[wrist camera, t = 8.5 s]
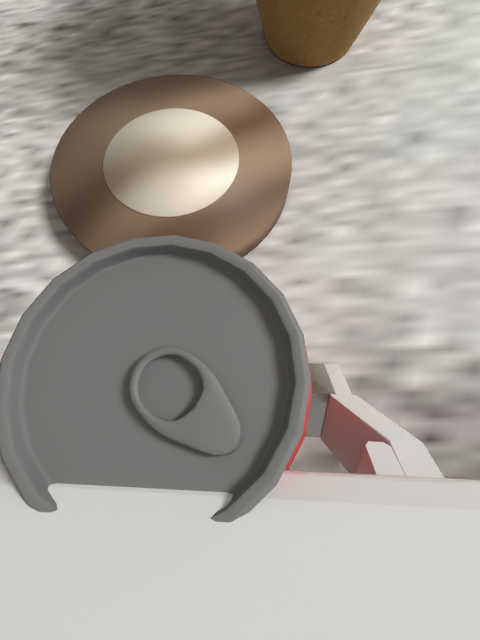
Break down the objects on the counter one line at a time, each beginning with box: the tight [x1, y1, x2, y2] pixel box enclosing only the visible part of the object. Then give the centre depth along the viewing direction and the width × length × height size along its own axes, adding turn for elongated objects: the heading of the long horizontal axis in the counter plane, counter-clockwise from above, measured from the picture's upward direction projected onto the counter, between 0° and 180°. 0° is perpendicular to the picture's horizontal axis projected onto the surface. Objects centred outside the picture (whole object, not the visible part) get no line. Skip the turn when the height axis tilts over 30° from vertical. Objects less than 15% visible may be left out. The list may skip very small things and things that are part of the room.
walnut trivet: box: [50, 75, 292, 257], centre depth 20 cm, size 16×16×2 cm
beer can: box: [0, 235, 312, 522], centre depth 11 cm, size 7×7×12 cm
